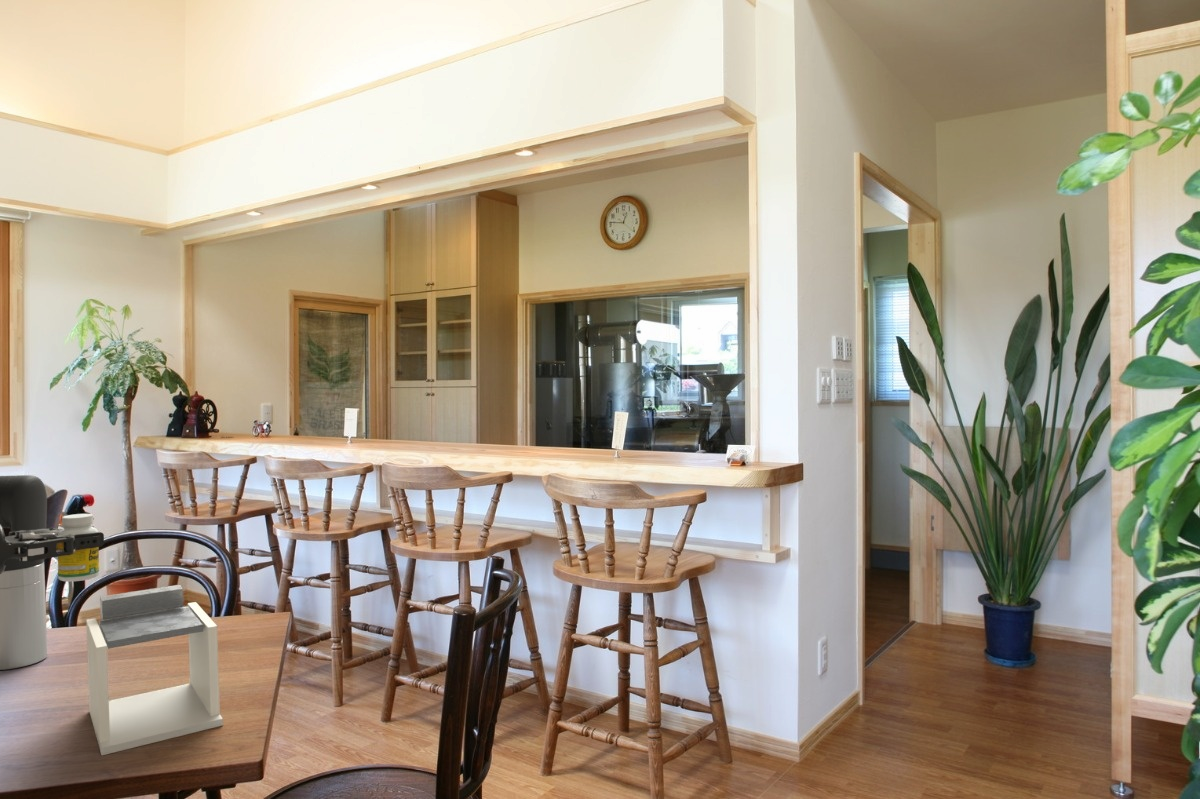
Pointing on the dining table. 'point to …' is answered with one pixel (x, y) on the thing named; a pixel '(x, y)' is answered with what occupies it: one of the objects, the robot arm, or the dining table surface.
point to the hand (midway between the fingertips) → (97, 536)
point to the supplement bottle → (78, 551)
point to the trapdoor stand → (155, 695)
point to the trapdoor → (146, 616)
